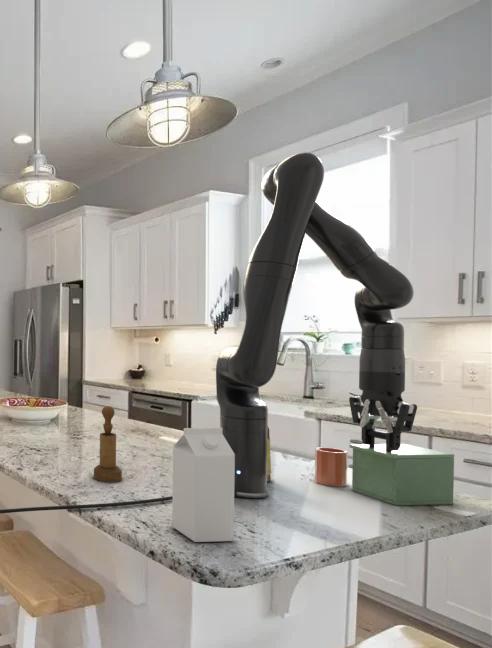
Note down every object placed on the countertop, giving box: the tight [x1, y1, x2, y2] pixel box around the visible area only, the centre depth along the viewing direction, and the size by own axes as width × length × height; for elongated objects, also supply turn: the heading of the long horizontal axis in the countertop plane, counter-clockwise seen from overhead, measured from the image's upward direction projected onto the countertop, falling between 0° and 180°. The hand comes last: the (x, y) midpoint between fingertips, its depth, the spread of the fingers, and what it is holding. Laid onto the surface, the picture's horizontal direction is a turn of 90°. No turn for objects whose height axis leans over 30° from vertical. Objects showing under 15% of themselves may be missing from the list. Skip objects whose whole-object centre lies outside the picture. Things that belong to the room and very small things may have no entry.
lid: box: [349, 429, 455, 459], centre depth 110 cm, size 13×11×5 cm
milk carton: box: [171, 427, 235, 543], centre depth 89 cm, size 7×7×19 cm
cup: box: [314, 446, 348, 488], centre depth 120 cm, size 6×6×8 cm
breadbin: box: [351, 448, 455, 506], centre depth 110 cm, size 13×11×10 cm
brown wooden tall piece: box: [93, 405, 123, 483], centre depth 125 cm, size 7×6×18 cm
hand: (380, 446), depth 109 cm, fingers closed on lid, 5 cm apart
